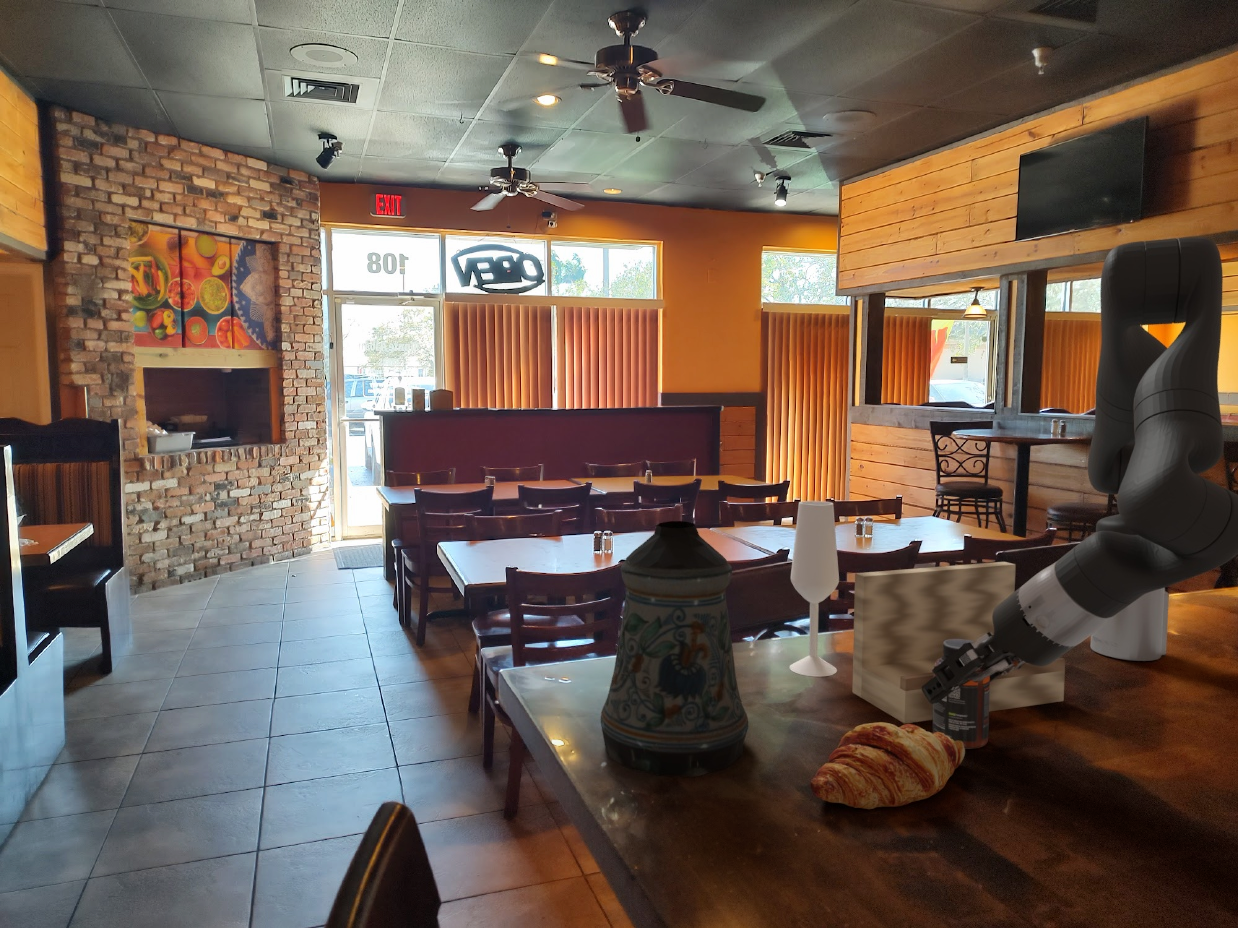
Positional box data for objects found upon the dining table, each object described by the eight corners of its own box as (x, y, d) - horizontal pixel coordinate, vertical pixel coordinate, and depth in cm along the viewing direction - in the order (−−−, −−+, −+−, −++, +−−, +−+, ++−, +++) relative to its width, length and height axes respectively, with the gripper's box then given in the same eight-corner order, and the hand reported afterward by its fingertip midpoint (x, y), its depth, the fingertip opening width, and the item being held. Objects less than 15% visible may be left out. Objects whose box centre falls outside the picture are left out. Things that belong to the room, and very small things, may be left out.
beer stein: (623, 787, 84) (622, 542, 82) (580, 715, 103) (579, 514, 101) (773, 767, 89) (776, 534, 87) (706, 702, 107) (707, 509, 105)
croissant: (936, 783, 93) (911, 710, 95) (1012, 772, 85) (982, 693, 87) (794, 832, 82) (770, 747, 84) (866, 825, 74) (837, 732, 76)
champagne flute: (837, 663, 123) (840, 500, 121) (837, 678, 116) (840, 507, 114) (790, 659, 124) (792, 499, 122) (788, 674, 118) (790, 505, 116)
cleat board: (1000, 673, 118) (1004, 561, 117) (1063, 700, 108) (1068, 578, 106) (852, 692, 111) (855, 573, 109) (904, 723, 100) (908, 592, 99)
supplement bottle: (978, 730, 98) (981, 636, 97) (995, 752, 92) (999, 652, 91) (925, 728, 99) (928, 635, 98) (939, 750, 93) (943, 650, 92)
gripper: (1066, 573, 91) (968, 650, 102) (987, 590, 84) (890, 671, 94) (1114, 633, 87) (1007, 706, 98) (1035, 656, 80) (928, 733, 90)
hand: (950, 689), depth 96 cm, fingers open, 7 cm apart
